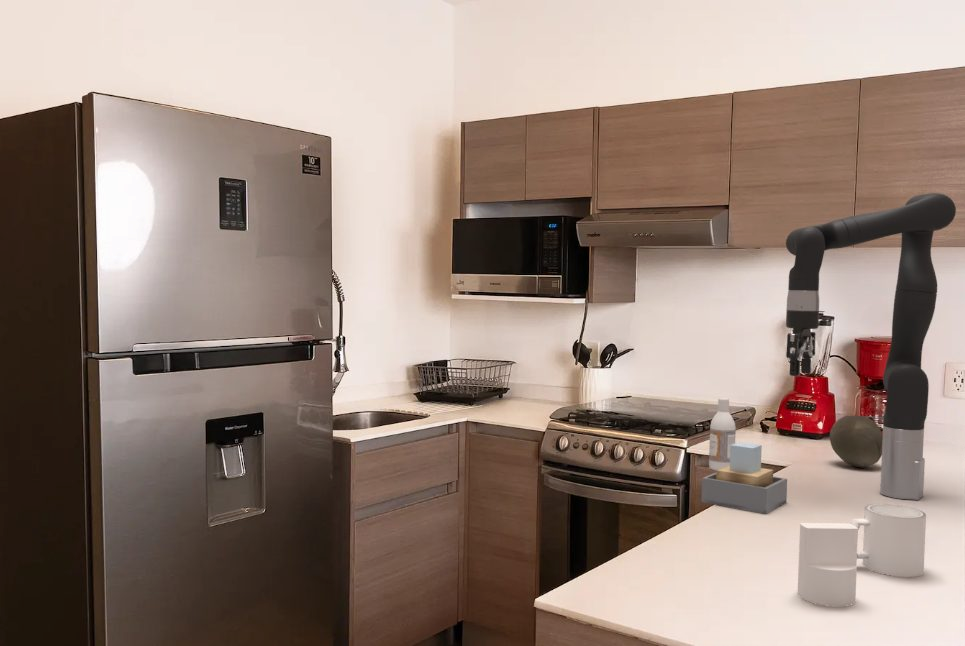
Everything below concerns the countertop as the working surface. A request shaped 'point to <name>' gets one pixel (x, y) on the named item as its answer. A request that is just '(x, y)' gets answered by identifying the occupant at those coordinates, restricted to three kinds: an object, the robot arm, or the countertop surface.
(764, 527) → the countertop surface
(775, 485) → the tote
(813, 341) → the robot arm
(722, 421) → the bath foam
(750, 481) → the oak block
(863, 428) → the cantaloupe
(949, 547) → the countertop surface
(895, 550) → the mug
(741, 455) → the light blue cube
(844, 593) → the base with upright slab
